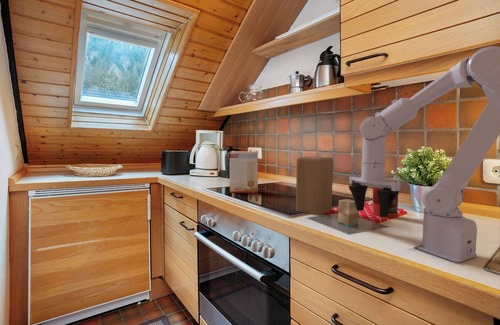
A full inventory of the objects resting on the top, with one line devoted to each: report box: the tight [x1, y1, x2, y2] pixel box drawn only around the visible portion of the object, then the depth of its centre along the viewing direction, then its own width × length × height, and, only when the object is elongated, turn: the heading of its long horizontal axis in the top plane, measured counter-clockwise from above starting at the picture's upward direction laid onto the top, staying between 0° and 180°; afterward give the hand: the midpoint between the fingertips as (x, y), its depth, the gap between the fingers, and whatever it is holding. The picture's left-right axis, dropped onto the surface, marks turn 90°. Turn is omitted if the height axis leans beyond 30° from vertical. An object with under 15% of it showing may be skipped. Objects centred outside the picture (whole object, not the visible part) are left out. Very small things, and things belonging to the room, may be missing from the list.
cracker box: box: [229, 150, 259, 194], centre depth 139 cm, size 14×6×21 cm, turn 84°
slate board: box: [306, 212, 390, 235], centre depth 83 cm, size 18×16×1 cm
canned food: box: [371, 184, 399, 219], centre depth 92 cm, size 8×8×11 cm
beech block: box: [338, 198, 360, 227], centre depth 81 cm, size 4×4×7 cm
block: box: [295, 156, 334, 216], centre depth 97 cm, size 10×10×20 cm
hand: (371, 213), depth 73 cm, fingers open, 7 cm apart
